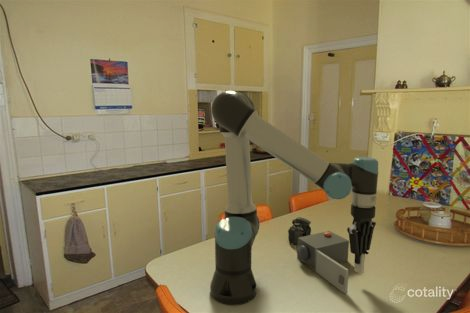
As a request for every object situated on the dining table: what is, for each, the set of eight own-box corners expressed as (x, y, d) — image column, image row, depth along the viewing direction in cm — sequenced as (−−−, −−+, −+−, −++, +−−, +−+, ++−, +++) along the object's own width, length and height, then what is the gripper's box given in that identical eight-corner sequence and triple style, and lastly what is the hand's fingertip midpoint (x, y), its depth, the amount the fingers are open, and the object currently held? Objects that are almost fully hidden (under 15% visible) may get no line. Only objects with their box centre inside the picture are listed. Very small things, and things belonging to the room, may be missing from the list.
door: (312, 270, 118) (312, 250, 116) (316, 269, 118) (317, 249, 117) (342, 294, 103) (344, 270, 102) (347, 292, 104) (348, 269, 102)
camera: (310, 246, 139) (311, 224, 137) (287, 244, 141) (288, 222, 140) (310, 234, 152) (311, 214, 150) (289, 233, 154) (289, 213, 153)
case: (310, 271, 118) (311, 247, 116) (293, 258, 128) (293, 236, 126) (347, 261, 126) (349, 238, 124) (328, 250, 135) (329, 228, 134)
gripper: (361, 211, 99) (357, 282, 102) (385, 203, 106) (379, 270, 110) (341, 205, 105) (337, 272, 108) (364, 198, 112) (360, 261, 116)
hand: (358, 271), depth 109 cm, fingers closed
